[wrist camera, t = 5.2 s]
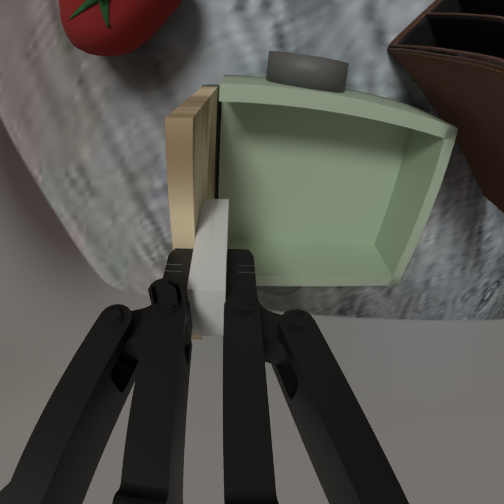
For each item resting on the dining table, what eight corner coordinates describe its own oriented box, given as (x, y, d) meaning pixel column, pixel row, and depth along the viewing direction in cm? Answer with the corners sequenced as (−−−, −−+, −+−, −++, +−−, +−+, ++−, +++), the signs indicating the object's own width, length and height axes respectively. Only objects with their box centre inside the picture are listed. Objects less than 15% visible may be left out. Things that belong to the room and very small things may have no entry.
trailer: (225, 48, 17) (222, 47, 12) (419, 84, 18) (464, 101, 13) (218, 254, 28) (215, 302, 23) (368, 258, 29) (389, 301, 24)
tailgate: (203, 84, 18) (162, 118, 9) (220, 84, 18) (195, 118, 9) (202, 233, 26) (183, 337, 17) (216, 233, 26) (203, 339, 17)
